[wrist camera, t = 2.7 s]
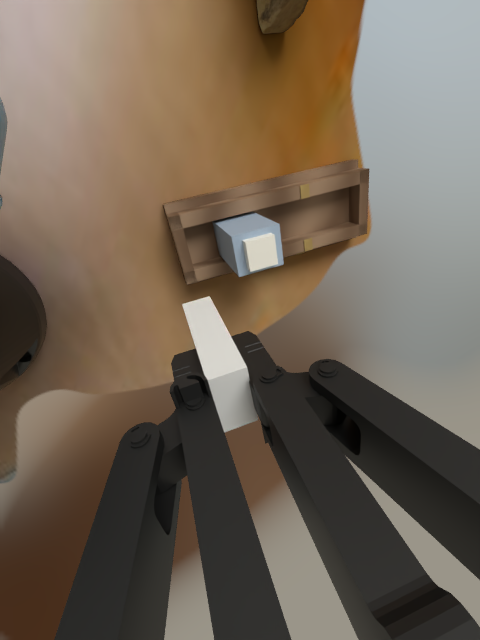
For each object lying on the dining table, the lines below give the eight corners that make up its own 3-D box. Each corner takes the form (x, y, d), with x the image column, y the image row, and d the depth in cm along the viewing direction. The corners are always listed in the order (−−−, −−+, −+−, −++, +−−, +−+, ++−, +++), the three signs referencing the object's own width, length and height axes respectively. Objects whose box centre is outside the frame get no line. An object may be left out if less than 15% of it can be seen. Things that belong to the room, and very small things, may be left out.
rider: (219, 254, 31) (242, 280, 25) (212, 220, 30) (234, 238, 23) (256, 244, 32) (287, 267, 25) (251, 210, 30) (283, 225, 24)
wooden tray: (185, 282, 33) (189, 292, 30) (162, 203, 29) (165, 208, 26) (351, 235, 36) (367, 241, 34) (352, 159, 32) (370, 159, 30)
